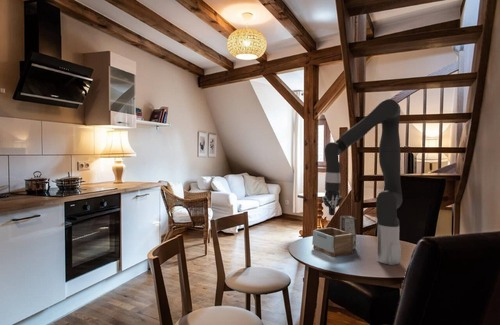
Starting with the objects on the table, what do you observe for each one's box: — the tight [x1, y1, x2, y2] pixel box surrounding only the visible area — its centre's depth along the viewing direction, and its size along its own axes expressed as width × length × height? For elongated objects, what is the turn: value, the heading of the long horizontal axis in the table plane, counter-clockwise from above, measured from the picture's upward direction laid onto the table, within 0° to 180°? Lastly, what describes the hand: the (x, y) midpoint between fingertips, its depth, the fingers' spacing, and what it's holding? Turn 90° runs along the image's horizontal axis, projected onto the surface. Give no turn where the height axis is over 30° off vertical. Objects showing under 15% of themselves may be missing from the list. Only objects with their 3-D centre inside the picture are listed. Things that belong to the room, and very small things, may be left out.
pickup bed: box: [313, 226, 354, 258], centre depth 162 cm, size 16×12×10 cm
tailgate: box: [311, 229, 334, 253], centre depth 159 cm, size 15×2×8 cm, turn 26°
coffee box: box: [339, 215, 357, 250], centre depth 171 cm, size 9×6×16 cm
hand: (331, 215), depth 162 cm, fingers closed
